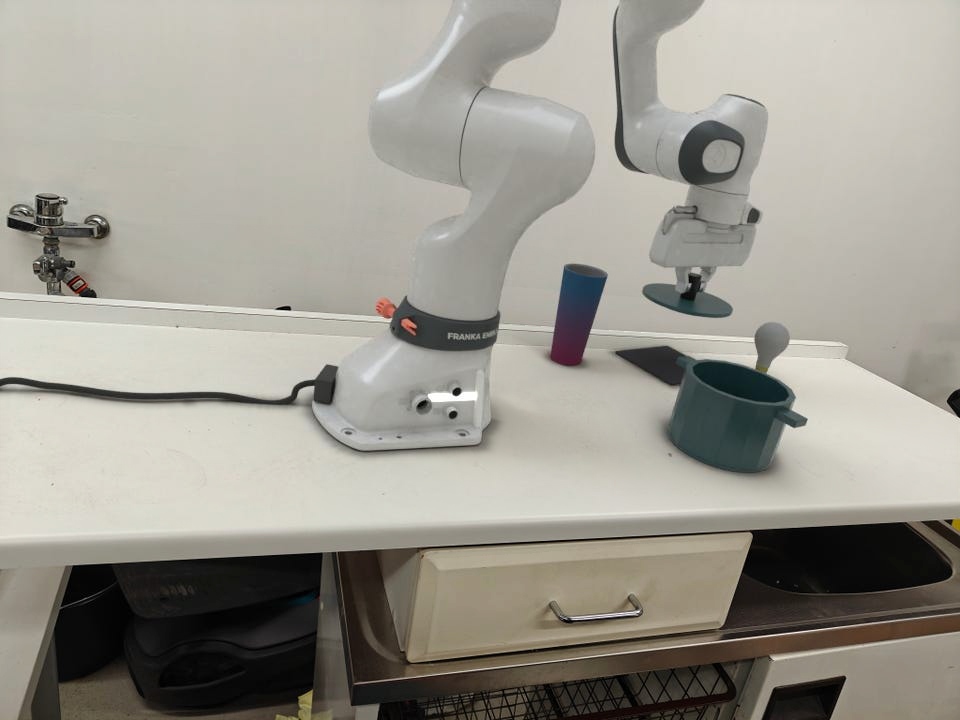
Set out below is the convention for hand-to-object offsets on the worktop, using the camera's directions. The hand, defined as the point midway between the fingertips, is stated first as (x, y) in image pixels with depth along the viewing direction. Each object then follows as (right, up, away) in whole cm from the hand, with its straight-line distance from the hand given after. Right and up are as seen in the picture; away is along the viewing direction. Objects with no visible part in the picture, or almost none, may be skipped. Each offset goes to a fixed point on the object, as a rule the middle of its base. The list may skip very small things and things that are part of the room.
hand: (689, 291), depth 117 cm
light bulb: (+14, -14, +7) cm, 21 cm away
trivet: (-2, -12, +5) cm, 13 cm away
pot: (-2, -22, -21) cm, 31 cm away
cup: (-20, -11, -1) cm, 23 cm away
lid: (0, -2, +1) cm, 2 cm away
